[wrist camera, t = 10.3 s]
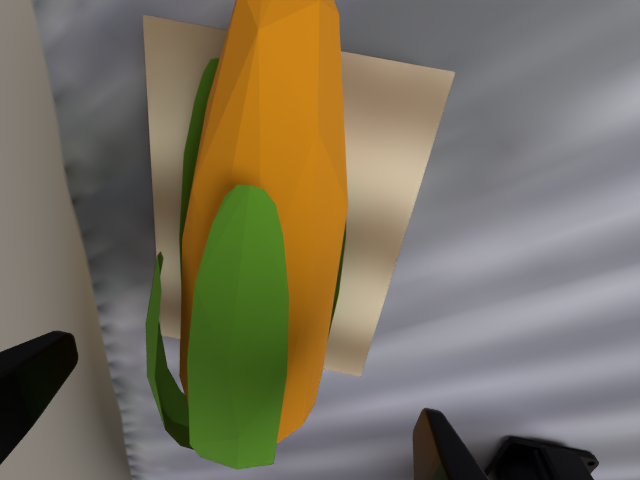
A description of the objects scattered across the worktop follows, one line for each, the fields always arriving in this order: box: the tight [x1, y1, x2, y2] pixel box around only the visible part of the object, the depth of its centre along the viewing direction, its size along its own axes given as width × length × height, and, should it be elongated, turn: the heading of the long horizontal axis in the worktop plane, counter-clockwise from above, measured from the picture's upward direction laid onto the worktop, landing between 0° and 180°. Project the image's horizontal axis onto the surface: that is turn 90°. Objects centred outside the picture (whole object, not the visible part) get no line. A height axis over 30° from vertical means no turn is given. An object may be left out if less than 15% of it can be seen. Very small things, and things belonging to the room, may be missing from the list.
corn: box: [146, 0, 348, 470], centre depth 12 cm, size 7×8×20 cm
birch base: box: [143, 15, 455, 377], centre depth 17 cm, size 16×12×3 cm
